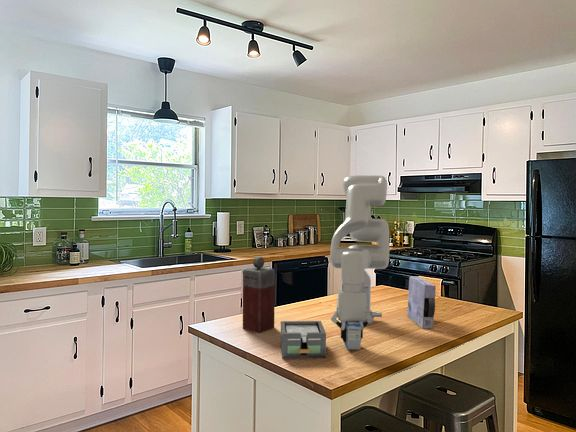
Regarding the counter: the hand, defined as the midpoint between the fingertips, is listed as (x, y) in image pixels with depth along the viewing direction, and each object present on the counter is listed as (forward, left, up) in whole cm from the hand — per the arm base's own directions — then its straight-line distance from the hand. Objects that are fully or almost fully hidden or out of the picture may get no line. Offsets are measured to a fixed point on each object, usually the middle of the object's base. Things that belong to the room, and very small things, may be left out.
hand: (351, 339), depth 151 cm
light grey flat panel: (+17, +4, +3) cm, 18 cm away
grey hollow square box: (+17, +2, -3) cm, 17 cm away
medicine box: (0, 0, -2) cm, 2 cm away
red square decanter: (+33, -24, -3) cm, 41 cm away
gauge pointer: (+17, +10, -1) cm, 20 cm away
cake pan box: (-34, -29, -3) cm, 45 cm away
